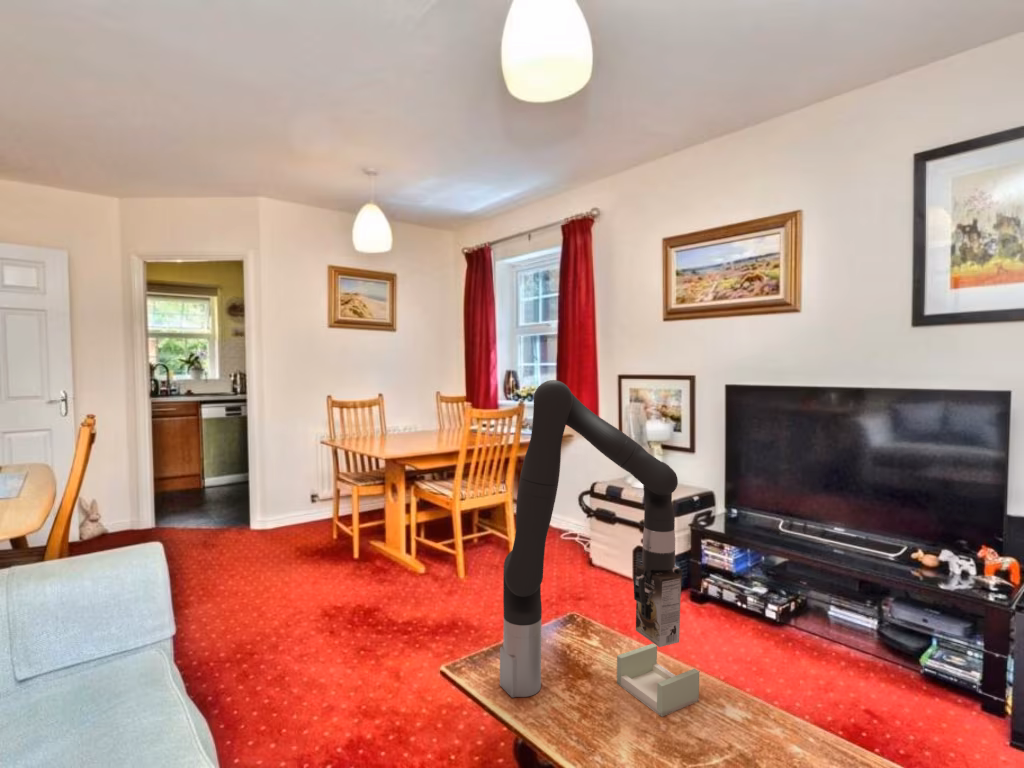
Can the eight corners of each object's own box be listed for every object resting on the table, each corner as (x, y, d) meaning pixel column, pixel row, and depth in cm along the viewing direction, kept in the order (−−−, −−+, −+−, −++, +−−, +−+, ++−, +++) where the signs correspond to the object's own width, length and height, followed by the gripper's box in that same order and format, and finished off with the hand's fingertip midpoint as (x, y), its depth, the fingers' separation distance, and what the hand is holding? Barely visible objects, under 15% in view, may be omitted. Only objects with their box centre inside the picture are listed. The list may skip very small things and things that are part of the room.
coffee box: (634, 630, 135) (635, 565, 135) (655, 625, 138) (656, 561, 138) (659, 648, 127) (660, 579, 127) (680, 642, 130) (682, 574, 129)
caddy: (661, 717, 124) (662, 686, 123) (616, 683, 136) (617, 655, 136) (698, 700, 130) (699, 671, 129) (652, 670, 143) (652, 643, 142)
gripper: (647, 556, 125) (646, 628, 126) (692, 546, 132) (690, 614, 133) (625, 546, 131) (624, 615, 132) (668, 537, 139) (667, 602, 139)
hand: (657, 614), depth 132 cm, fingers closed on coffee box, 6 cm apart
